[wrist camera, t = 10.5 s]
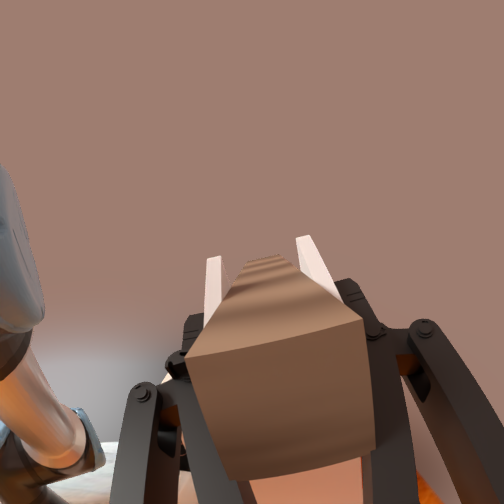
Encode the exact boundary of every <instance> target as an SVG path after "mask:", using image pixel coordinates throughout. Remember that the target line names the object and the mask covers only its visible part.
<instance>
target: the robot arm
mask: <svg viewBox="0 0 504 504" xmlns="http://www.w3.org/2000/svg"><path fill="white" fill-rule="evenodd" d="M296 243H297V249H298V256H299V261H300V269H301V271H302V272H303V273H304V274H306V275H307V276H308V277H309V278H311V279H312V280H313V281H315V282H316V283H317V284H319V285H320V286H321V287H323V288H324V289H325V290H327V291H328V292H329V293H330V294H332V295H333V296H334V297H336V298H337V299H338V300H340V301H341V302H342V303H343V304H345V305H346V306H347V307H349V308H350V309H351V310H353V311H354V312H355V313H356V314H358V315H359V316H360V317H362V318H363V323H364V330H365V337H366V344H367V352H368V360H369V368H370V377H371V387H372V398H373V410H374V424H375V442H376V449H375V450H372V451H370V454H368V455H365V456H362V475H363V504H420V502H419V497H418V485H417V475H416V466H415V458H414V450H413V443H412V437H411V430H410V425H409V418H408V413H407V407H406V402H405V397H404V392H403V387H402V382H401V377H400V376H402V377H403V379H404V381H405V383H406V385H407V387H408V389H409V391H410V393H411V394H412V396H413V398H414V400H415V402H416V404H417V406H418V408H419V410H420V412H421V414H422V416H423V418H424V420H425V422H426V424H427V427H428V429H429V431H430V433H431V434H432V437H433V439H434V441H435V443H436V446H437V448H438V450H439V452H440V454H441V456H442V459H443V461H444V463H445V465H446V467H447V470H448V472H449V474H450V477H451V479H452V482H453V484H454V486H455V489H456V491H457V493H458V496H459V498H460V501H461V503H462V504H504V427H503V425H502V423H501V422H500V420H499V418H498V416H497V415H496V413H495V411H494V409H493V408H492V406H491V404H490V403H489V401H488V399H487V398H486V396H485V394H484V393H483V391H482V390H481V388H480V386H479V385H478V383H477V382H476V380H475V378H474V377H473V375H472V374H471V372H470V371H469V369H468V368H467V366H466V365H465V363H464V362H463V360H462V359H461V357H460V356H459V354H458V353H457V351H456V350H455V349H454V347H453V346H452V344H451V343H450V341H449V340H448V339H447V337H446V336H445V335H444V333H443V332H442V331H441V329H440V328H439V326H438V325H437V324H436V323H435V322H434V321H431V320H429V319H419V320H416V321H414V322H413V323H412V324H411V325H410V327H409V329H391V328H388V327H387V326H385V325H384V324H383V323H380V322H379V321H378V319H377V318H376V316H375V314H374V312H373V310H372V308H371V307H370V305H369V303H368V301H367V300H366V299H365V296H364V294H363V293H362V291H361V289H360V287H359V285H358V284H357V283H356V282H354V281H353V280H352V279H350V278H348V279H344V280H340V281H336V282H333V280H332V278H331V276H330V274H329V272H328V270H327V268H326V266H325V264H324V262H323V260H322V258H321V256H320V254H319V252H318V250H317V249H316V246H315V244H314V243H313V241H312V239H311V237H310V235H307V236H302V237H298V238H296ZM230 288H231V285H230V282H229V279H228V276H227V273H226V270H225V267H224V264H223V261H222V257H221V256H217V257H213V258H208V259H207V268H206V286H205V306H204V313H199V314H194V315H190V316H189V317H188V318H187V320H186V322H185V324H184V332H183V333H184V334H183V342H182V350H179V351H177V352H174V353H173V354H172V355H170V356H169V357H168V359H167V361H166V363H165V368H166V370H167V371H168V373H169V374H170V376H171V377H172V379H170V380H168V381H167V382H164V383H162V384H159V385H157V386H155V385H154V384H152V383H150V382H142V383H139V384H137V385H135V386H134V387H133V388H132V389H131V391H130V393H129V395H128V399H127V404H126V409H125V413H124V418H123V423H122V428H121V433H120V439H119V444H118V450H117V455H116V461H115V467H114V474H113V480H112V487H111V494H110V502H109V504H178V484H179V467H180V451H181V437H182V433H183V438H184V443H185V448H186V453H187V458H188V462H189V467H190V471H191V475H192V480H193V484H194V488H195V492H196V496H197V500H198V504H257V501H256V499H255V496H254V493H253V490H252V488H251V485H250V482H249V481H242V482H237V481H236V480H231V481H229V479H228V476H227V474H226V472H225V469H224V467H223V465H222V462H221V460H220V457H219V455H218V452H217V450H216V447H215V445H214V442H213V440H212V437H211V435H210V432H209V429H208V427H207V424H206V421H205V419H204V416H203V413H202V410H201V408H200V405H199V402H198V399H197V396H196V393H195V390H194V387H193V385H192V382H191V378H190V375H189V372H188V369H187V366H186V363H185V360H184V358H185V356H186V354H187V353H188V351H189V350H190V348H191V347H192V345H193V344H194V342H195V341H196V339H197V338H198V336H199V335H200V333H201V332H202V330H203V329H204V327H205V326H206V324H207V323H208V321H209V319H210V318H211V316H212V315H213V313H214V312H215V310H216V309H217V307H218V306H219V304H220V303H221V302H222V300H223V299H224V297H225V296H226V294H227V293H228V291H229V290H230ZM44 314H45V306H44V299H43V294H42V289H41V285H40V281H39V277H38V273H37V269H36V265H35V261H34V258H33V255H32V251H31V248H30V245H29V238H28V234H27V230H26V226H25V222H24V219H23V215H22V211H21V207H20V204H19V200H18V197H17V193H16V190H15V187H14V184H13V182H12V179H11V177H10V175H9V173H8V172H7V170H6V169H5V168H4V166H2V165H1V164H0V502H1V504H69V503H68V502H67V501H65V500H64V499H63V498H61V497H60V496H59V495H57V494H56V493H55V492H54V491H52V490H51V489H50V488H49V487H47V484H51V483H54V482H58V481H61V480H65V479H68V478H72V477H75V476H78V475H81V474H85V473H88V472H93V471H95V470H96V469H98V468H100V467H102V466H104V465H105V463H106V458H105V454H104V452H103V449H102V447H101V444H100V442H99V439H98V437H97V435H96V433H95V430H94V428H93V426H92V424H91V422H90V420H89V418H88V416H87V414H86V413H85V412H84V411H83V409H82V408H79V407H77V408H68V407H66V406H65V405H63V404H61V403H59V401H58V399H57V398H56V396H55V394H54V393H53V391H52V389H51V387H50V386H49V384H48V382H47V380H46V378H45V376H44V374H43V372H42V370H41V369H40V366H39V364H38V362H37V360H36V358H35V356H34V354H33V352H32V350H31V348H30V346H31V342H32V338H33V332H34V326H35V325H37V324H39V323H40V322H41V321H42V319H43V318H44Z"/></svg>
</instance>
